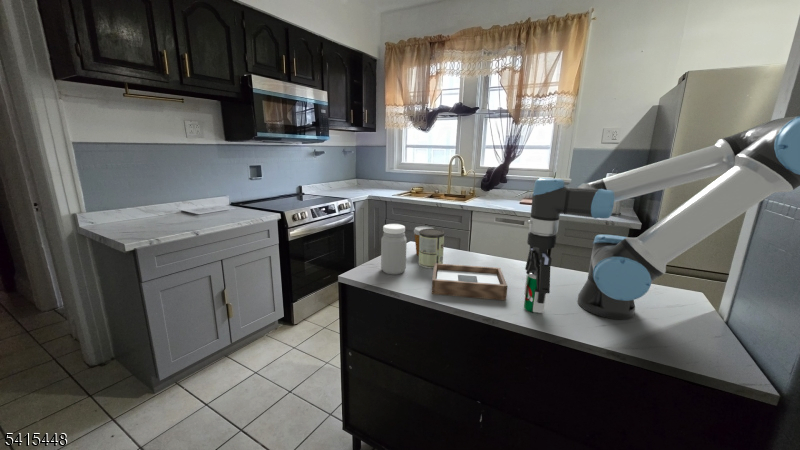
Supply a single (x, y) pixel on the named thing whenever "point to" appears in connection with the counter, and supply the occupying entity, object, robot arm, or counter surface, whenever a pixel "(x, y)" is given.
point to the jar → (393, 249)
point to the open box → (469, 283)
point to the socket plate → (467, 276)
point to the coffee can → (431, 247)
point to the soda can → (530, 291)
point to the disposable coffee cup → (417, 234)
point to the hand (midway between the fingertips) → (533, 302)
